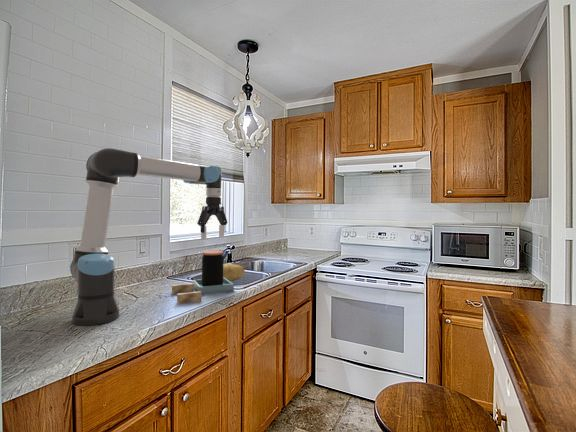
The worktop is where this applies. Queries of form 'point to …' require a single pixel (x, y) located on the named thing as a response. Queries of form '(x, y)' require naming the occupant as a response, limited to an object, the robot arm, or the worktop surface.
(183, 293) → the oak cradle
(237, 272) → the potato
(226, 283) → the bin
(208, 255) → the coffee jar
